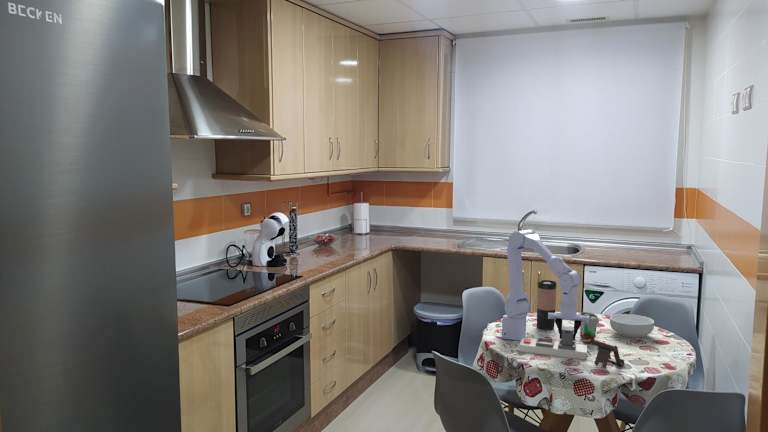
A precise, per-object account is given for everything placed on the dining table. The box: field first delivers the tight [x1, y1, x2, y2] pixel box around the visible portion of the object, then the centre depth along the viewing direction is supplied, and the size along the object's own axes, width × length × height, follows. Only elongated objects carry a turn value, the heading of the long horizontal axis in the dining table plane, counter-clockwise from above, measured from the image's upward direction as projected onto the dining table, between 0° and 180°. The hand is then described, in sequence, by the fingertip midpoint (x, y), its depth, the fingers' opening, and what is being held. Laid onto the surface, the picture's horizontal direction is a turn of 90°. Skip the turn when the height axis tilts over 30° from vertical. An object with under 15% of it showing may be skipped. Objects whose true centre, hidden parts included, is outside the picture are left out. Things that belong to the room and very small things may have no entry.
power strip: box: [518, 336, 588, 360], centre depth 224 cm, size 24×9×4 cm, turn 71°
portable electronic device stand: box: [592, 338, 625, 369], centre depth 211 cm, size 9×8×8 cm
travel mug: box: [536, 279, 557, 331], centre depth 253 cm, size 8×8×20 cm
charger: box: [560, 325, 574, 347], centre depth 222 cm, size 4×5×6 cm
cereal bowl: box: [609, 313, 655, 339], centre depth 245 cm, size 17×17×7 cm
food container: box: [579, 311, 600, 345], centre depth 238 cm, size 12×6×10 cm, turn 169°
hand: (567, 339), depth 222 cm, fingers closed on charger, 4 cm apart
